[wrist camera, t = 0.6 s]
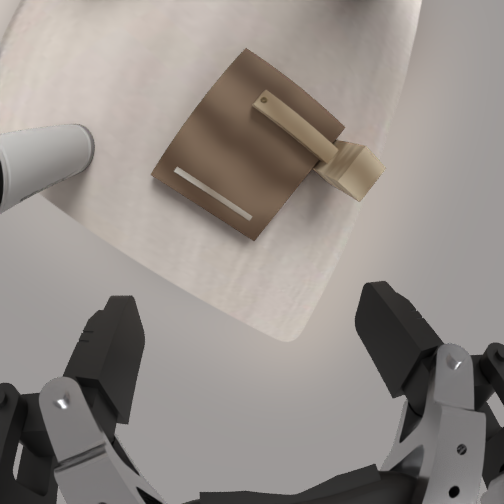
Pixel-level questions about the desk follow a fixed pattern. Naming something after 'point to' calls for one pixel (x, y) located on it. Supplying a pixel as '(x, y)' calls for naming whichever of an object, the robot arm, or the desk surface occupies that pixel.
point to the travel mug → (41, 159)
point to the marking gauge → (326, 150)
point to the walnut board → (243, 147)
